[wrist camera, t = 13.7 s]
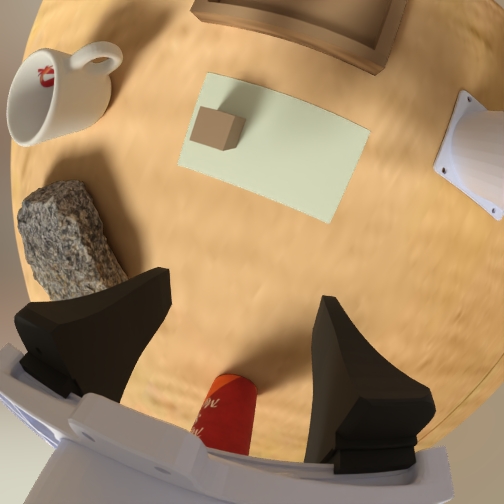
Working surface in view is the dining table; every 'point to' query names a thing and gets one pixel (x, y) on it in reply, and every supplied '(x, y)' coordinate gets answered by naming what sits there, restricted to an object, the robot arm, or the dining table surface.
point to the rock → (67, 242)
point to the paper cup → (227, 415)
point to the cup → (60, 92)
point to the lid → (272, 145)
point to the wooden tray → (317, 24)
